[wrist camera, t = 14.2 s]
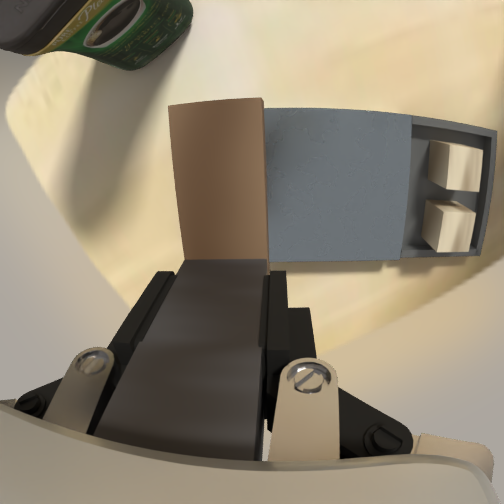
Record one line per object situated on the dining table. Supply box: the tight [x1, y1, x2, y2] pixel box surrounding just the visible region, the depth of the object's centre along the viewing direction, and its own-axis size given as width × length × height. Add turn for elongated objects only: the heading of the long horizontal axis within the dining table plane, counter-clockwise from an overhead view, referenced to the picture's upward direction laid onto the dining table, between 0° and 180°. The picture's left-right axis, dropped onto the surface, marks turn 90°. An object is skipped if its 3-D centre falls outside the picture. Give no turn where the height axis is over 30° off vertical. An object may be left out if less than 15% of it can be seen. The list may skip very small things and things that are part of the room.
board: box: [264, 108, 412, 262], centre depth 28 cm, size 20×14×2 cm
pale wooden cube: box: [421, 200, 476, 252], centre depth 27 cm, size 4×4×4 cm
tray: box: [400, 115, 497, 258], centre depth 27 cm, size 11×14×2 cm
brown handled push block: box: [93, 98, 270, 461], centre depth 9 cm, size 3×14×12 cm, turn 3°
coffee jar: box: [0, 0, 193, 70], centre depth 15 cm, size 10×8×19 cm
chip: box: [428, 140, 483, 192], centre depth 24 cm, size 4×4×4 cm
